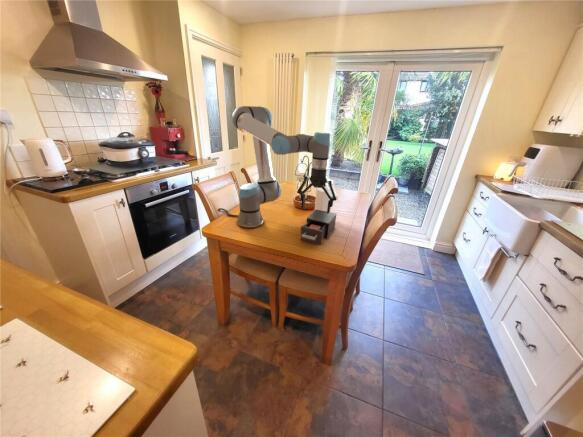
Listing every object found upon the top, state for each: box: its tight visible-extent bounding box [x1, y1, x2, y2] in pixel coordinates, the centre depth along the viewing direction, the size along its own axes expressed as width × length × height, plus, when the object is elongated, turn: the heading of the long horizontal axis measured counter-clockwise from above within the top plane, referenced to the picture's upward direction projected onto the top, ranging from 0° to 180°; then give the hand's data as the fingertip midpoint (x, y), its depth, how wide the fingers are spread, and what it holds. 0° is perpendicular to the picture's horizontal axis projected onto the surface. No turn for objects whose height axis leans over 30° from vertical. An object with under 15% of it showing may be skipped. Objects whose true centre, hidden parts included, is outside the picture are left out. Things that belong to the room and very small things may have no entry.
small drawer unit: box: [305, 209, 337, 240], centre depth 133 cm, size 15×13×10 cm
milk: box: [314, 187, 331, 212], centre depth 147 cm, size 6×6×22 cm
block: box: [309, 224, 321, 230], centre depth 124 cm, size 6×6×6 cm
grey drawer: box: [300, 220, 327, 246], centre depth 123 cm, size 18×11×8 cm, turn 155°
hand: (315, 209), depth 118 cm, fingers open, 13 cm apart
